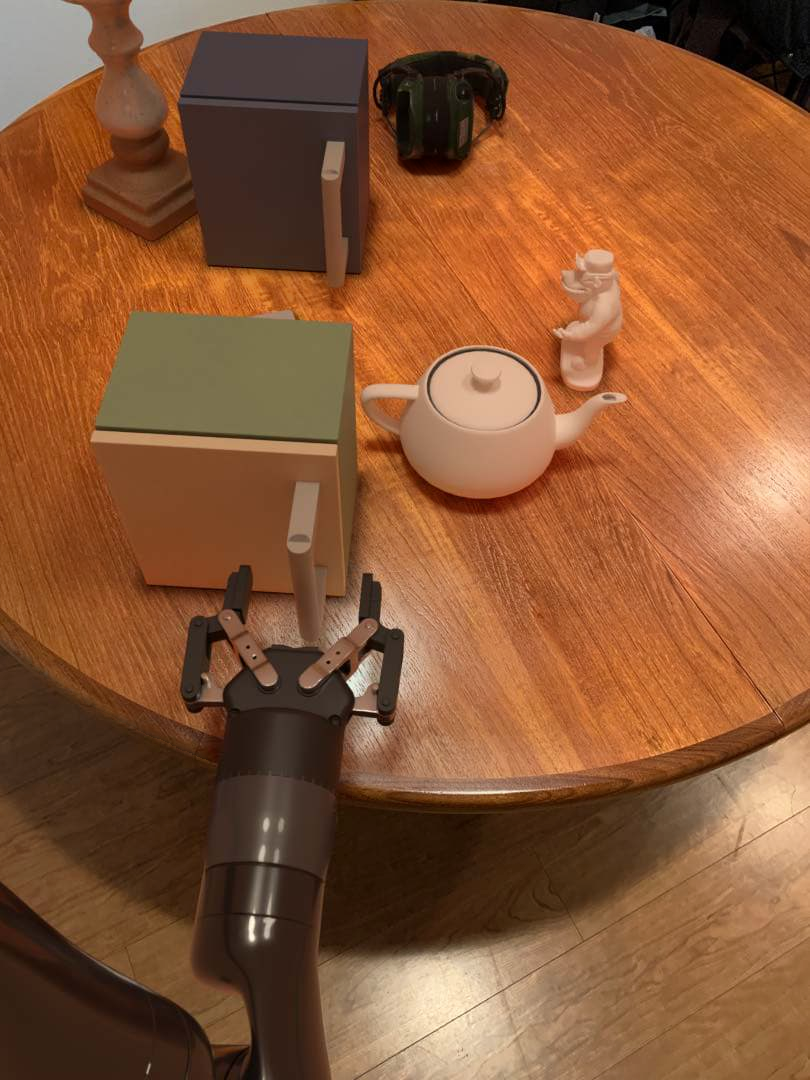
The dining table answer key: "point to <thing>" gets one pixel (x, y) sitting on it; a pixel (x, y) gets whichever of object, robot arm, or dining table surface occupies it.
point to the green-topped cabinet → (239, 385)
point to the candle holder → (133, 133)
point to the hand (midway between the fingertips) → (307, 574)
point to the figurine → (589, 318)
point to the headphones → (439, 100)
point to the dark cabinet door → (276, 184)
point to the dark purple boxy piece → (287, 79)
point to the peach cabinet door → (231, 513)
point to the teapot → (481, 421)
